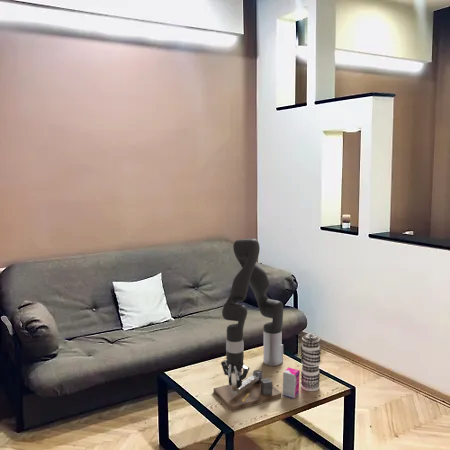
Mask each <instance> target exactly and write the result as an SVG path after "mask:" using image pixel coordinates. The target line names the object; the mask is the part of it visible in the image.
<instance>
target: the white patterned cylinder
mask: <svg viewBox="0 0 450 450" xmlns="http://www.w3.org/2000/svg"><path fill="white" fill-rule="evenodd" d="M301 340H302V343H301V346H300V357H301V360H300V362H301V365H302V366H301V372H300V373H301V375H300V376H301V378H300V381H301V382H300V385H301V387H300V388H302V389H303V390H304V391H307V392H316V391H318V390H319V389H320V382H321V380H320V378H321V377H320V375H321V374H320V373H321V372H320V367H319V366H320V365H321V364H320V363H321V356H320V355H321V354H322V351H321V350H322V349H321V348H320V340H321V338H320V337H319V336H318V335H317V334H315V333H305V334H304V335H303V336H302V337H301Z"/></svg>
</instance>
